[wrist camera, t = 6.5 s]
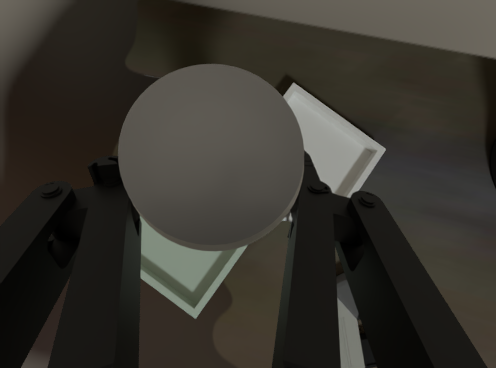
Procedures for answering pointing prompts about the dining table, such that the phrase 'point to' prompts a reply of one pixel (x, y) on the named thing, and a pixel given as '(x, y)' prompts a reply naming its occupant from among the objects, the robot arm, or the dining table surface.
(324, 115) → the grey tray
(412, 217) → the dining table surface
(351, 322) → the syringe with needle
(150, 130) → the sugar shaker
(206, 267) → the green tray
